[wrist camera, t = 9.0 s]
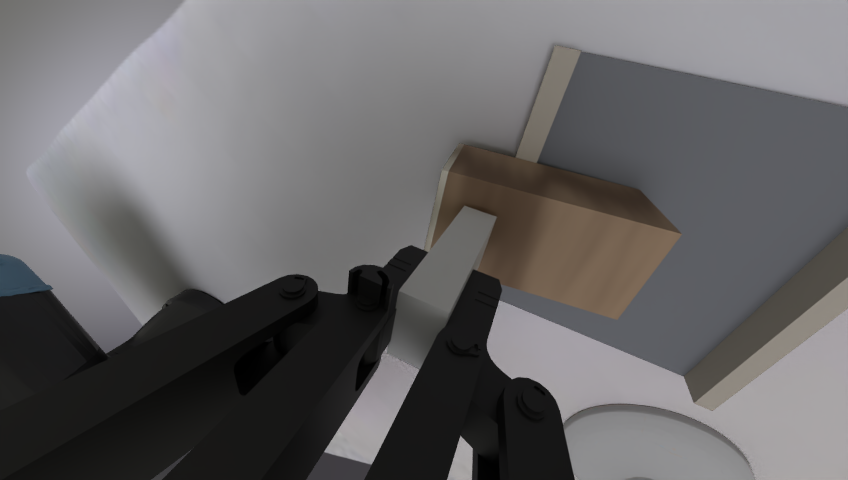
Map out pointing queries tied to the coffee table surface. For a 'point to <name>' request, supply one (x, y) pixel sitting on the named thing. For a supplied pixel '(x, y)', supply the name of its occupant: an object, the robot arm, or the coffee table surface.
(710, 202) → the grey flat square piece
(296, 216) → the coffee table surface
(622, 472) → the candlestick
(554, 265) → the block
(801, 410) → the coffee table surface
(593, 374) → the coffee table surface
